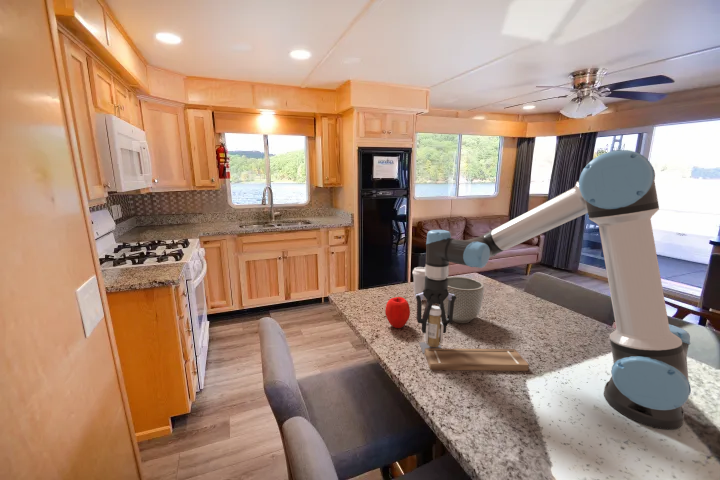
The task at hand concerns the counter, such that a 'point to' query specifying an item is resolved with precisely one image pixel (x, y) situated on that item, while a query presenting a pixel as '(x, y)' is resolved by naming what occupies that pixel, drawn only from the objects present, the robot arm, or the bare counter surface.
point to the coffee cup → (419, 280)
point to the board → (475, 359)
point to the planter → (465, 298)
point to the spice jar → (434, 326)
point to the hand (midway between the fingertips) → (433, 341)
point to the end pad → (426, 346)
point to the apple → (397, 311)
